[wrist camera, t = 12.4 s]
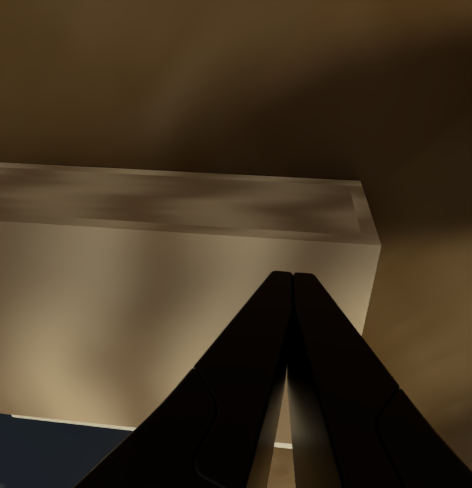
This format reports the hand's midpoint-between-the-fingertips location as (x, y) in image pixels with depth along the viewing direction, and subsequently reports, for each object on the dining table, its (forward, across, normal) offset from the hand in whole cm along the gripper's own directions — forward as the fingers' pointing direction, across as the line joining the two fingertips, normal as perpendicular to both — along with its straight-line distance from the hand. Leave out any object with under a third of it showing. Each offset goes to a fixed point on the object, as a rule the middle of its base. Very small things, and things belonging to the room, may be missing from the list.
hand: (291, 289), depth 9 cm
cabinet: (+12, +6, +9) cm, 16 cm away
